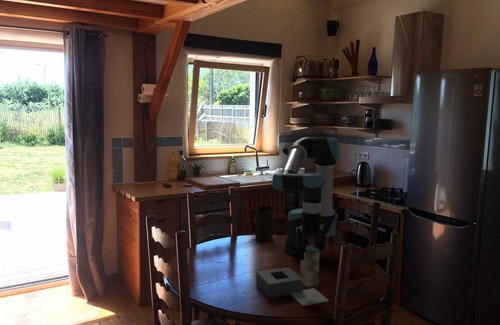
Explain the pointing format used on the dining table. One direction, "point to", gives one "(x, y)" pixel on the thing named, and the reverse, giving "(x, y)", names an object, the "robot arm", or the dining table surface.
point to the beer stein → (262, 223)
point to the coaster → (309, 297)
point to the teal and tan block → (310, 267)
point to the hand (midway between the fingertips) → (309, 266)
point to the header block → (278, 282)
